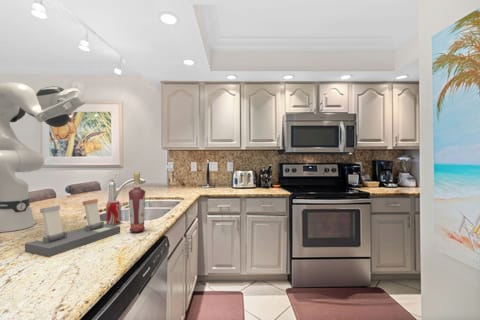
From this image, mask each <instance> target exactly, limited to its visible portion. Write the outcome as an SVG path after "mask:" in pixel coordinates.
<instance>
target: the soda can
mask: <svg viewBox="0 0 480 320" xmlns="http://www.w3.org/2000/svg"><path fill="white" fill-rule="evenodd" d="M105 205H106V206H105V219H106V220H105V221H106V225H114V226H118V225H119V224H120V223H121V221H122V206H121V205H122V204H121V202H120V200H109V201H107V203H106V204H105Z"/></svg>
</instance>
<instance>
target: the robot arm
mask: <svg viewBox="0 0 480 320" xmlns="http://www.w3.org/2000/svg"><path fill="white" fill-rule="evenodd" d="M86 103H87V100H86V99H85V97H84V93H83V91H81V89H78V88H76V87H70V88H66V89H64V88H63V87H60V86H47V87H43V88H41V89H39V90H38V91H37V93H36V92H35V90H34V89H33V88H32V87H30V86H29V85H27V84H25V83H21V82H14V81H13V82H12V81H11V82H9V81H8V82H2V83H0V233H5V232H7V233H8V232H15V231H20V230H25V229H28V228H32V227H33V226H34V225H36V224H37V221H34V213H33V209H32V208H31V207H30V206H31V205H30V203H31V201H30V198H29V184H28V183H27V181H25V180H23V179H21V178H17V176H16V174H15V173H22V172H23V173H24V172H25V173H27V172H29V173H30V172H34V171H38V170H41V169H42V168H43V167H44V164H45V157H44V155H43V154H42V153H41V152H39V151H36V150H33V149H31V148H29V147H28V146H27V145H26V144H24V143H23V142H21V141H20V140H19V138H18V137H17V135H16V134H15V132H14V129H13V127H12V126H11V123H16V122H18V121H19V120H21V119H23V118H24V117H25V115H26V114H28V115H29V116H31V117H33V118H35V119H36V121H38V123H42V122H43V123H45V124H47V125H48V126H50V127H52V128H61V127H64V126H65V127H66V125H68V123H69V121H70V120H71V118H70V114H72V113H74V112H75V111H76V110H77V109H78V108H80V107H81V106H83V105H85V104H86Z"/></svg>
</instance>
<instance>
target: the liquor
mask: <svg viewBox="0 0 480 320" xmlns="http://www.w3.org/2000/svg"><path fill="white" fill-rule="evenodd" d="M140 177H141V172H138V171H137V172H133V179H134V181H133V188H132V189H131V190H130V191H128V205H129V207H128V208H129V219H130V220H129V221H130V224H129V225H130V226H129V231H130V232H132V233H134V234H137V233H142V232H143V231H144V230H145V229H146V227H145V207H146V206H145V205H146V191H145V190H144V189H142V188H141V183H140Z"/></svg>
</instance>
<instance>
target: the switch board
mask: <svg viewBox="0 0 480 320" xmlns="http://www.w3.org/2000/svg"><path fill="white" fill-rule="evenodd" d="M101 223H102V226H101V227H98V228H95V229H91V230H90V225H88V224H87V225H85V226H84V227H81V228H78V229H73V230H70V231H65V230H62V231H63V233H64V237H63V238H60V239H56V240H53V241H49V237H47V236H45V235H44V236H42V238H38V239H36V240H33V241H32V240H31V241H29V242H25V243H24V252H26V253H30V254H35V255H40V256H44V257H48V258H50V257H53V256H56V255H58V253H59V254H62V253H64V252H67V251H70V249H71V250H73V249H76V248H79V247H82V246H85V245H88V244H90V243H94V242H97V241H99V240H102V239H105V238H109V237H111V236H115V235H117V234H120V233H121V226H120V225H108V224H107V223H106V224H105V221H101Z"/></svg>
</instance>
